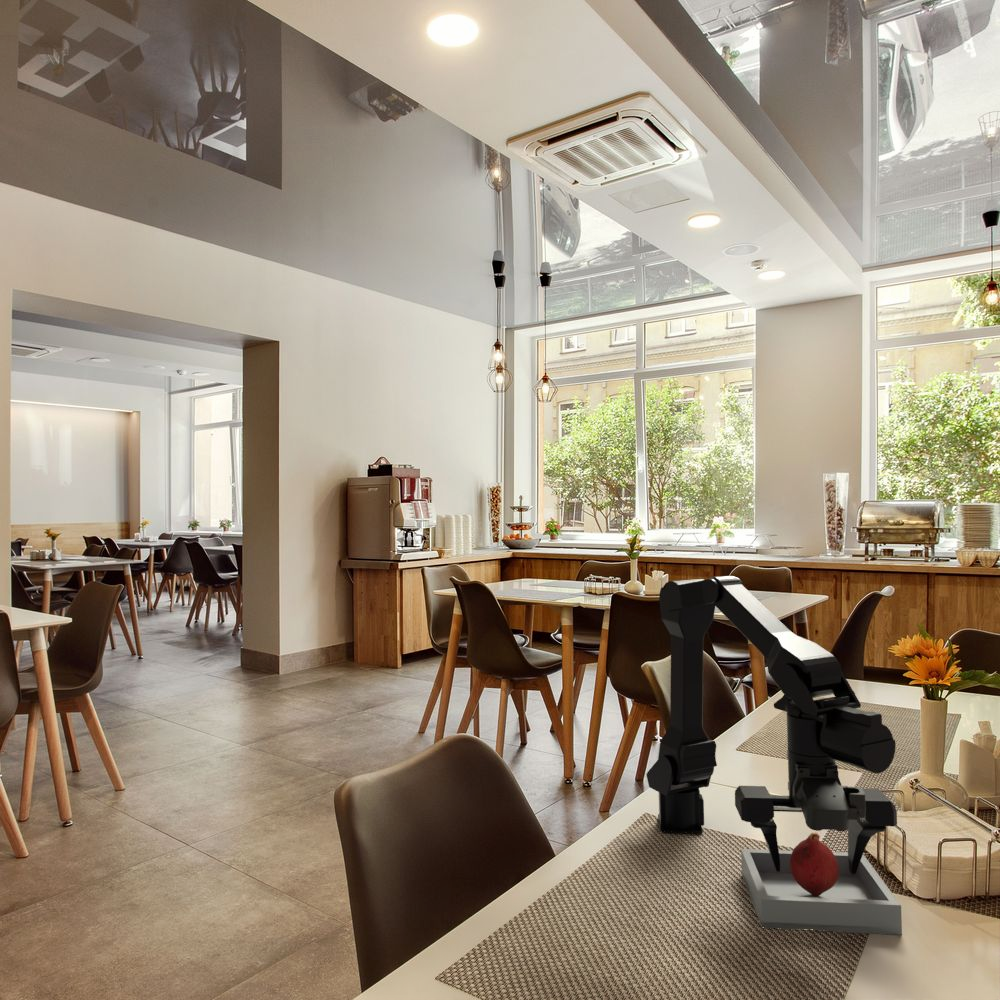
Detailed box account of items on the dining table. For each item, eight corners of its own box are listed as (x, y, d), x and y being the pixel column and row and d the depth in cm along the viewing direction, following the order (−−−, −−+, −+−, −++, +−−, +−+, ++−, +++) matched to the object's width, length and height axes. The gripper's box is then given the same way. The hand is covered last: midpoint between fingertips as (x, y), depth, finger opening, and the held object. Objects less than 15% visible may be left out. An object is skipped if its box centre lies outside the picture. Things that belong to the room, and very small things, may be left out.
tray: (761, 928, 94) (760, 899, 94) (741, 874, 108) (741, 848, 108) (902, 935, 92) (901, 905, 92) (863, 879, 105) (862, 853, 105)
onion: (817, 911, 96) (815, 846, 96) (781, 891, 101) (779, 830, 101) (849, 899, 98) (847, 836, 99) (812, 880, 104) (810, 820, 104)
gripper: (747, 769, 93) (751, 900, 93) (912, 772, 91) (916, 907, 90) (732, 741, 104) (735, 858, 104) (879, 744, 102) (882, 863, 101)
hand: (814, 871), depth 100 cm, fingers open, 9 cm apart
